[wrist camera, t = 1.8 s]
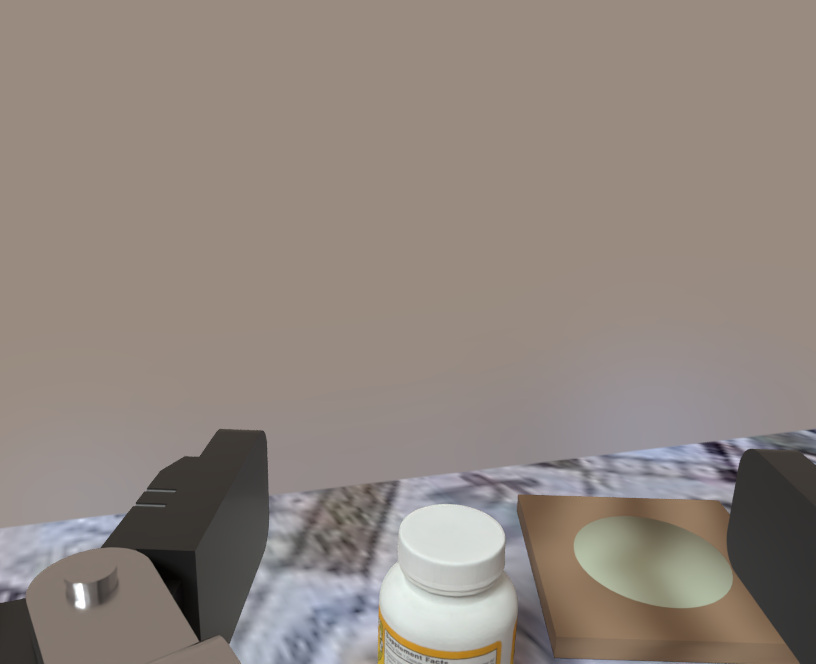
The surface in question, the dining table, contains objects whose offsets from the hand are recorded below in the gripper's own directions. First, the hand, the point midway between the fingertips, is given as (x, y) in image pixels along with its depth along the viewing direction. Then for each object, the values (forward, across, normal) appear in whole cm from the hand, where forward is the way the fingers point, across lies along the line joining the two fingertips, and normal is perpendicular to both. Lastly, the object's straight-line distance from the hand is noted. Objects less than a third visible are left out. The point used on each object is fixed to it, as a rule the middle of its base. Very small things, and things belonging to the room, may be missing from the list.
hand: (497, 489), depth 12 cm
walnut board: (+23, -12, +18) cm, 32 cm away
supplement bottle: (+12, 0, +18) cm, 22 cm away
